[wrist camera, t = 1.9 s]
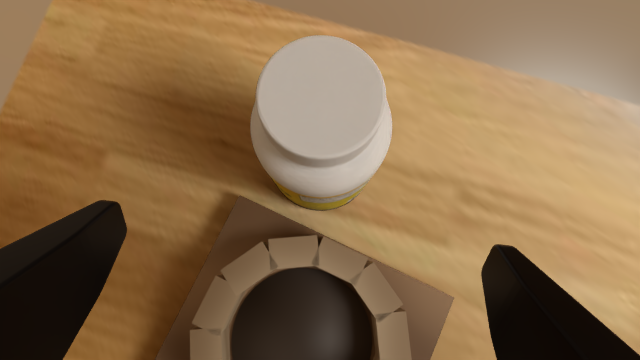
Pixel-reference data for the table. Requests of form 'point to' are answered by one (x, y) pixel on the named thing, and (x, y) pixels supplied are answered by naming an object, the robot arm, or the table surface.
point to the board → (300, 299)
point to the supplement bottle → (321, 121)
